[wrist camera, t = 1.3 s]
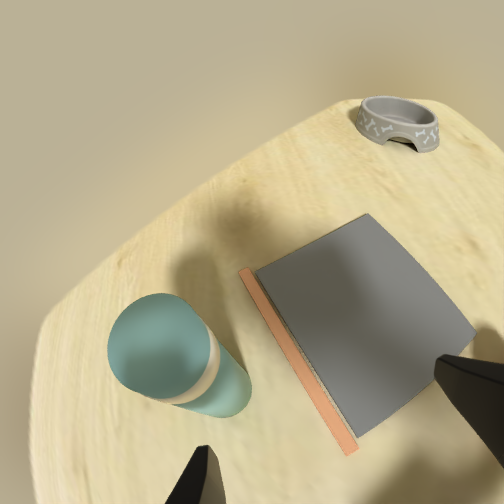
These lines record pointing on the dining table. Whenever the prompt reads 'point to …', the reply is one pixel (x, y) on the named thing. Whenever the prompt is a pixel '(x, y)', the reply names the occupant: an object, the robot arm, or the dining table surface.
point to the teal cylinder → (176, 358)
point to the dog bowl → (398, 122)
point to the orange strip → (299, 365)
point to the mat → (366, 318)
